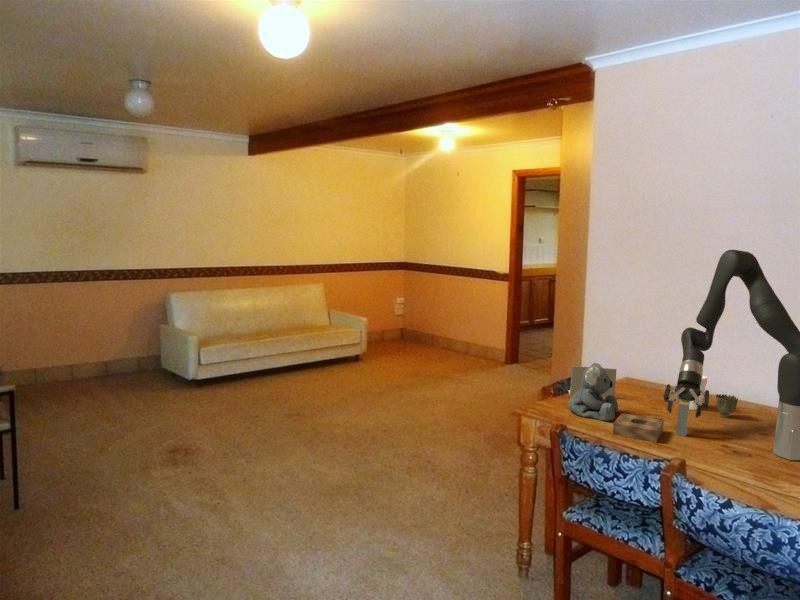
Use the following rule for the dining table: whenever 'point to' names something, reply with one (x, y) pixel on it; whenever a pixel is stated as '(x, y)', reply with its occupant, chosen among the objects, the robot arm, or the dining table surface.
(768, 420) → the dining table surface
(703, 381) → the foam cup
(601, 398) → the koala plush
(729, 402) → the cup
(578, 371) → the grey box
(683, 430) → the blue-grey rectangular block
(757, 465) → the dining table surface
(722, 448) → the dining table surface
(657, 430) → the flat wooden box
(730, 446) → the dining table surface
